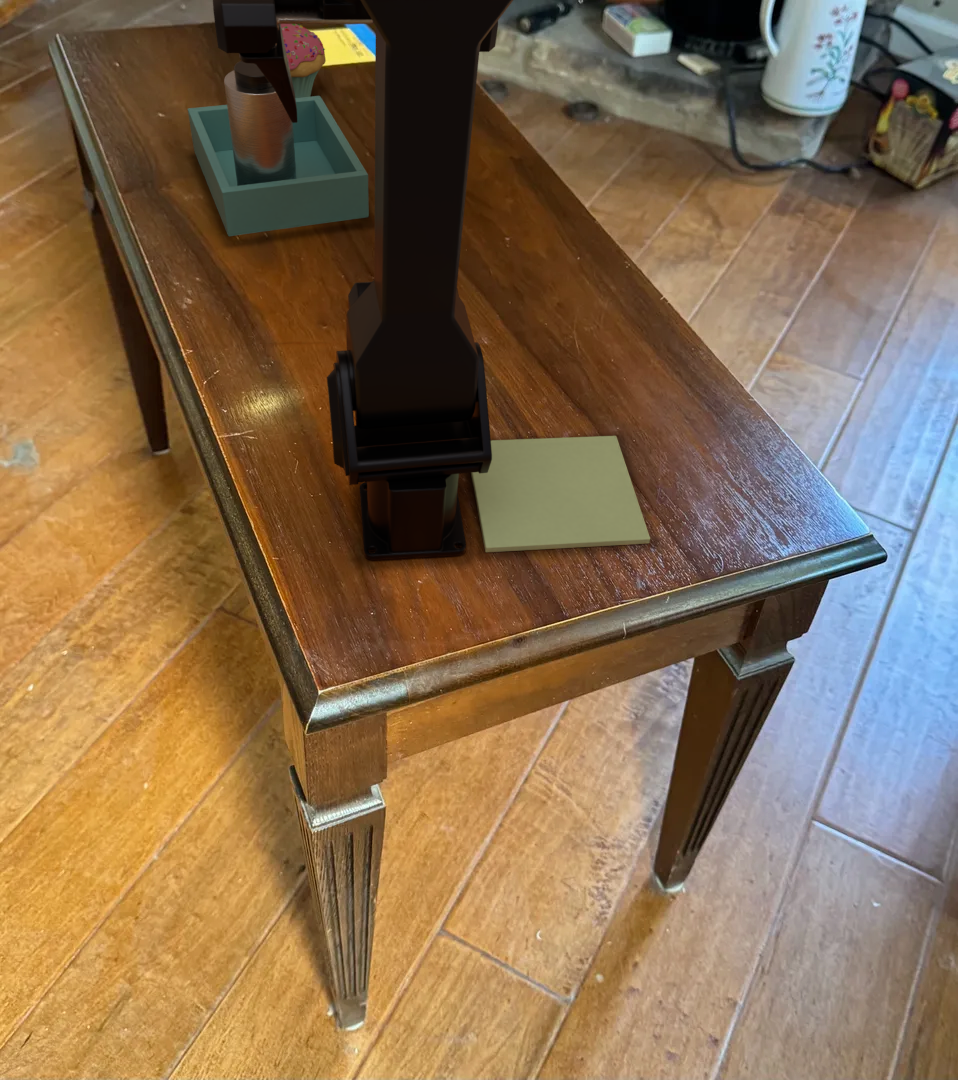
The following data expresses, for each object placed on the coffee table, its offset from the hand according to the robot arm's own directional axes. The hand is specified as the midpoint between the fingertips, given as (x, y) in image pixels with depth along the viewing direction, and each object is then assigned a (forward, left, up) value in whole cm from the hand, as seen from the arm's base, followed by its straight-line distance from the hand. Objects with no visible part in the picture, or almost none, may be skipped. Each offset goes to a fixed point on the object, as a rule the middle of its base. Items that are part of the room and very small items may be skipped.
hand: (356, 118), depth 71 cm
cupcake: (+32, +6, -13) cm, 36 cm away
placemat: (-28, -12, -13) cm, 33 cm away
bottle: (+9, +8, -12) cm, 17 cm away
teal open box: (+13, +7, -13) cm, 20 cm away
